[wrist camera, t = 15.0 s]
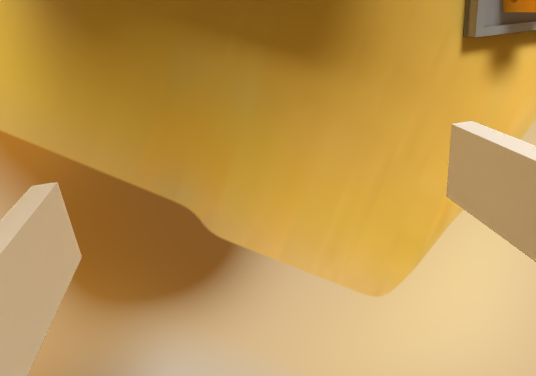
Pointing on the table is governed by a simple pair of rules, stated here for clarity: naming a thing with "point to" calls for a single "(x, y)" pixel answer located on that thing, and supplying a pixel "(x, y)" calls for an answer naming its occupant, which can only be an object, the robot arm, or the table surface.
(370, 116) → the table surface
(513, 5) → the pipe clamp
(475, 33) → the tray
